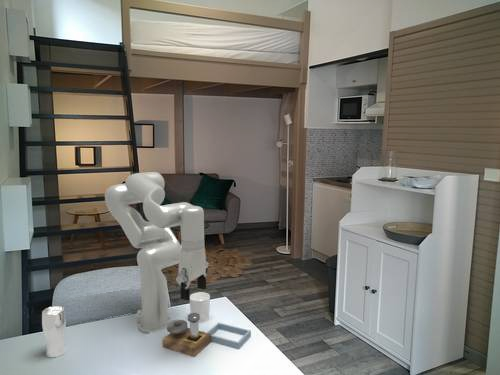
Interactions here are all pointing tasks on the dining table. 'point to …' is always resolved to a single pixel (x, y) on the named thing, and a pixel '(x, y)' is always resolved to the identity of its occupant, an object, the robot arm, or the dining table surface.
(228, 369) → the dining table surface
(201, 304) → the white cup
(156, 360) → the dining table surface
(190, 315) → the lock pin
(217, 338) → the tray
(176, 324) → the block
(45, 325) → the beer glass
